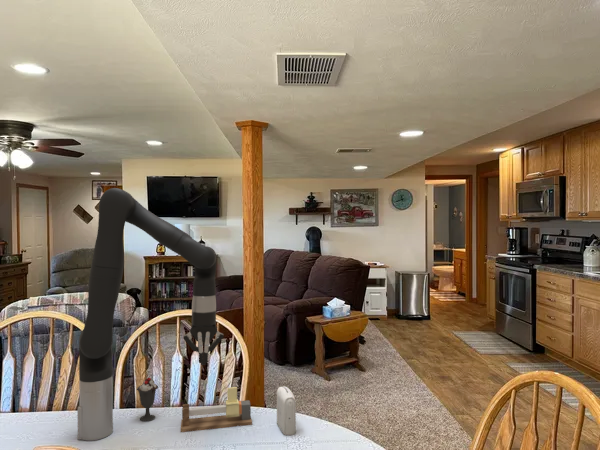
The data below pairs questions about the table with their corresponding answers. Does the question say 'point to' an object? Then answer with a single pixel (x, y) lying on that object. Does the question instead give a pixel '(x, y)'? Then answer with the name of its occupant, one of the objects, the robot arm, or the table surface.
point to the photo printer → (286, 411)
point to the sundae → (147, 397)
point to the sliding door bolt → (223, 410)
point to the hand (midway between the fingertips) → (203, 364)
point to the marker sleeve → (232, 403)
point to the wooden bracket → (209, 421)
